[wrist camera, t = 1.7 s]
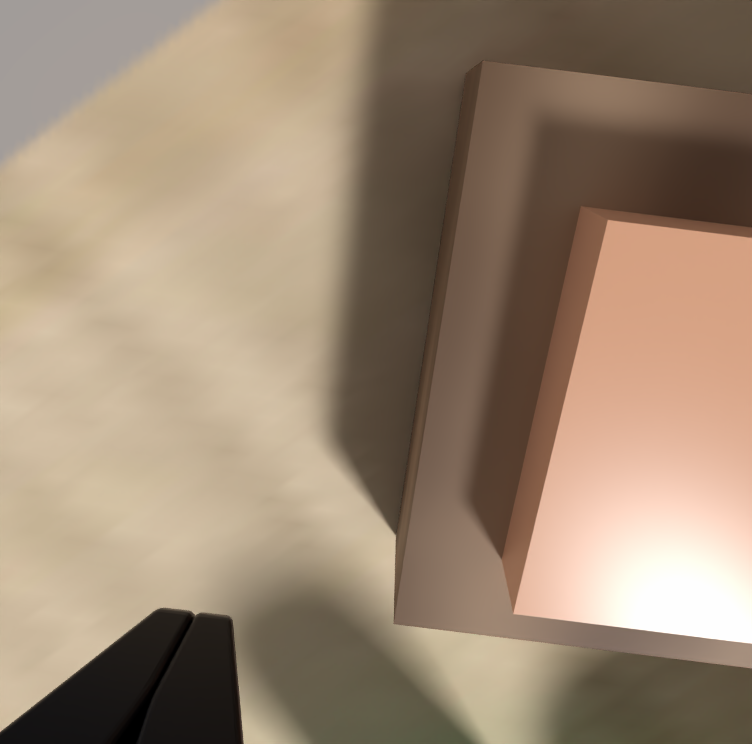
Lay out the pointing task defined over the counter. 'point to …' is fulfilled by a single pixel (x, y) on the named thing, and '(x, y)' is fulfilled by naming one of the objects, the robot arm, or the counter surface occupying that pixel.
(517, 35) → the counter surface
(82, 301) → the counter surface
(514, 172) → the wooden block
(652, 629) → the salmon pink brick
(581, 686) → the counter surface
